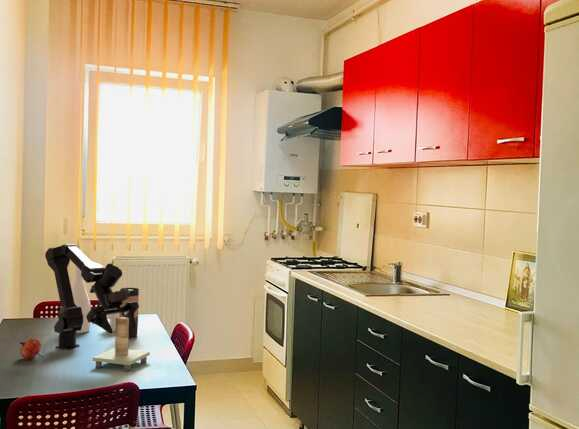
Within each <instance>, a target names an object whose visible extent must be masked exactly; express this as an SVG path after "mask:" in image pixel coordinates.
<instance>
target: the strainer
mask: <svg viewBox="0 0 579 429" xmlns="http://www.w3.org/2000/svg"><path fill="white" fill-rule="evenodd" d="M116 318H119V313H117V314H110V315H107V320H109V324H110V326H111V328H112V331H113V332H115V330H116Z"/></svg>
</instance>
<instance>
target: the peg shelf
mask: <svg viewBox="0 0 579 429" xmlns="http://www.w3.org/2000/svg"><path fill="white" fill-rule="evenodd" d="M150 354H151V352H150V351H147V350H146V351H145V350H138V349H137V350H136V349H130V348H128V355H125V356H117V355H115V347H113V348H111V349H109V350H107V351H104V352H102V353H100V354H99V353H98V355H95V356H94V355H93V357H92V362H95V368H96V369H101V368H102V367H103V366H102V365H103V363H107V364H108V363H109V364H116V365H122V366H123V365H124V366H123V367H124V368H123V369H124V370H123V371H124V372H125V373H129V371H130V372H131V365H133V364H135V363H137V362H139V361H140V363H141V364H147V360H148V359H147V357H149V356H151V355H150Z"/></svg>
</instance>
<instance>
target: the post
mask: <svg viewBox="0 0 579 429" xmlns="http://www.w3.org/2000/svg"><path fill="white" fill-rule="evenodd" d="M114 332H115V333H114V334H115V335H114V336H115V338H114V339H115V340H114V341H115V342H114V344H115V345H114V348H115V355H117V356H125V355H128V349H129V339H128V336H129V318H126V317H120V318H116V330H115V331H114Z"/></svg>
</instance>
